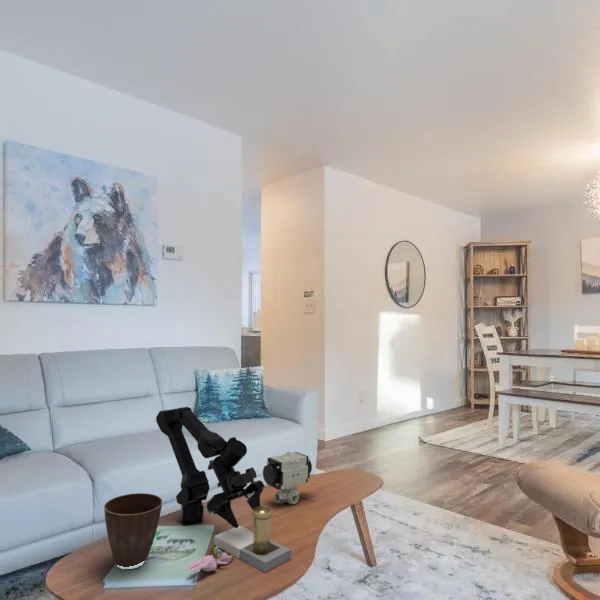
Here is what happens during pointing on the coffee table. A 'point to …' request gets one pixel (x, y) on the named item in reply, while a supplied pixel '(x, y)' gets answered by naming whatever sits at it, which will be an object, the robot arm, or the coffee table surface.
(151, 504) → the plant pot
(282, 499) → the ball valve
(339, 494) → the coffee table surface
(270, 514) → the brass fitting
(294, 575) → the coffee table surface
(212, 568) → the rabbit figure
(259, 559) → the grey holder base
